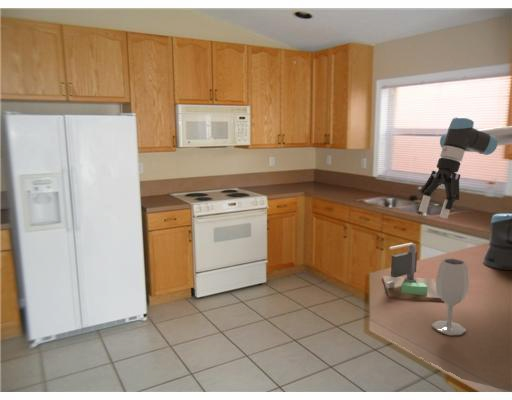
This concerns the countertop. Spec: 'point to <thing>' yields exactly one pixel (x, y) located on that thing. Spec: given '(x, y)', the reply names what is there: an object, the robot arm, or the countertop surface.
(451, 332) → the wineglass
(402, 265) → the signpost stand
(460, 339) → the countertop surface
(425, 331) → the countertop surface
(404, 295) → the brown square base board
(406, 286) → the gauge marks
